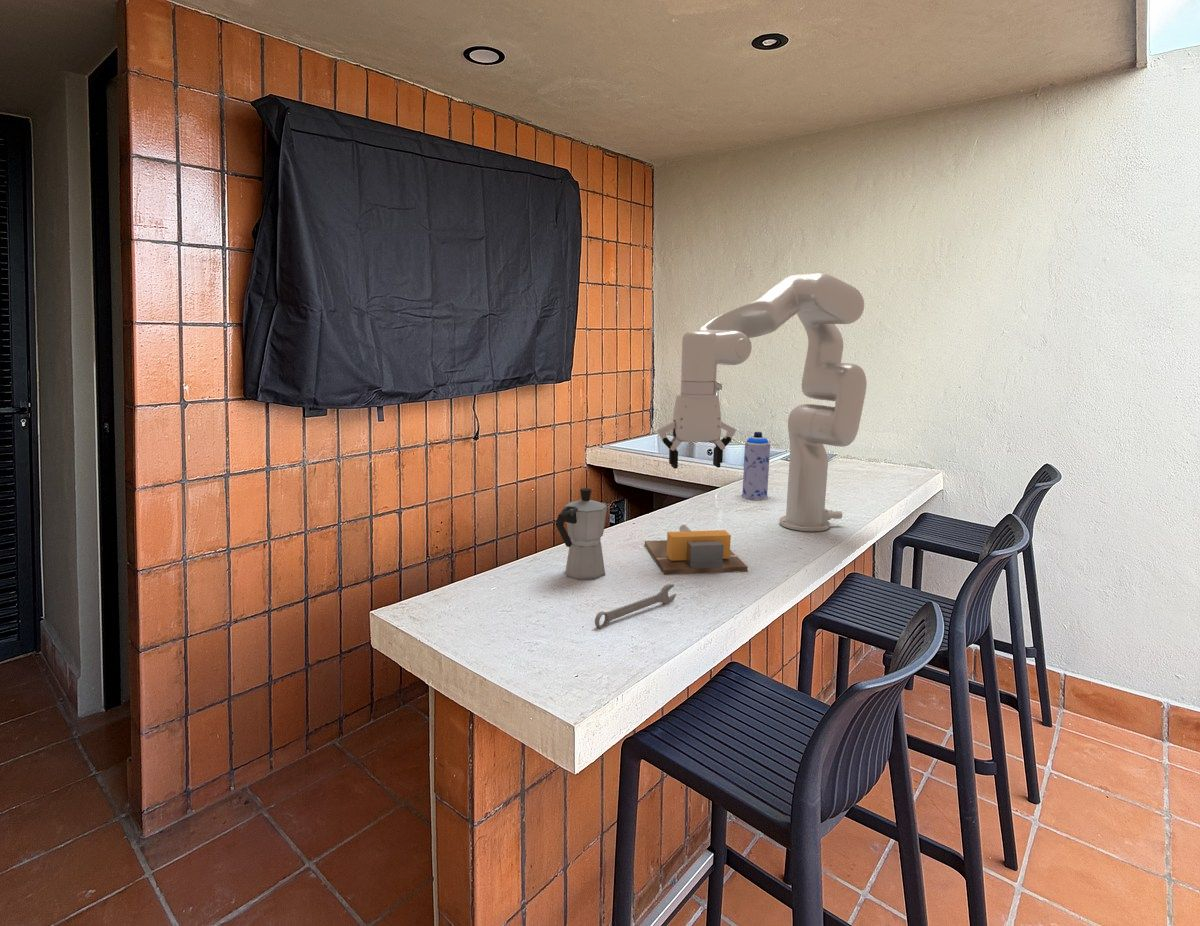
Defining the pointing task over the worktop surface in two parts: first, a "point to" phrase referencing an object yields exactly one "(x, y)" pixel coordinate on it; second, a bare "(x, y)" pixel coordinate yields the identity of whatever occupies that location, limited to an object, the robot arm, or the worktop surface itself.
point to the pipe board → (679, 566)
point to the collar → (680, 539)
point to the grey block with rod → (703, 553)
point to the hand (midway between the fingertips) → (695, 466)
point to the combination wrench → (636, 606)
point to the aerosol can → (756, 468)
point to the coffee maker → (583, 536)
